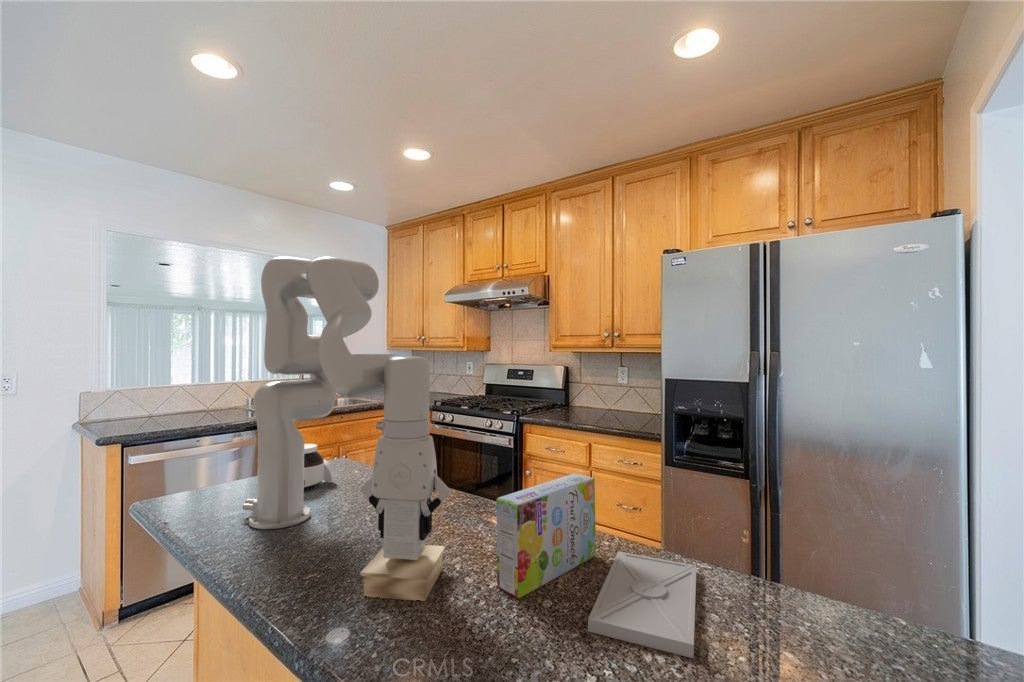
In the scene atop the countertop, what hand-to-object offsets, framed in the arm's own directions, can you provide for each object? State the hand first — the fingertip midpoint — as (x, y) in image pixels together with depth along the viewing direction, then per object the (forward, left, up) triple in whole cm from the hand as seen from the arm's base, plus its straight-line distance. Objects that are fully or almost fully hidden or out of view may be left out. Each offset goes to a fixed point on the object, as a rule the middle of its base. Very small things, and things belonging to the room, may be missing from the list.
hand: (405, 534), depth 75 cm
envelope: (+40, 0, -9) cm, 41 cm away
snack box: (+24, +7, -8) cm, 26 cm away
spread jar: (-45, +47, -8) cm, 65 cm away
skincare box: (0, 0, -3) cm, 3 cm away
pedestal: (0, 0, -8) cm, 8 cm away
